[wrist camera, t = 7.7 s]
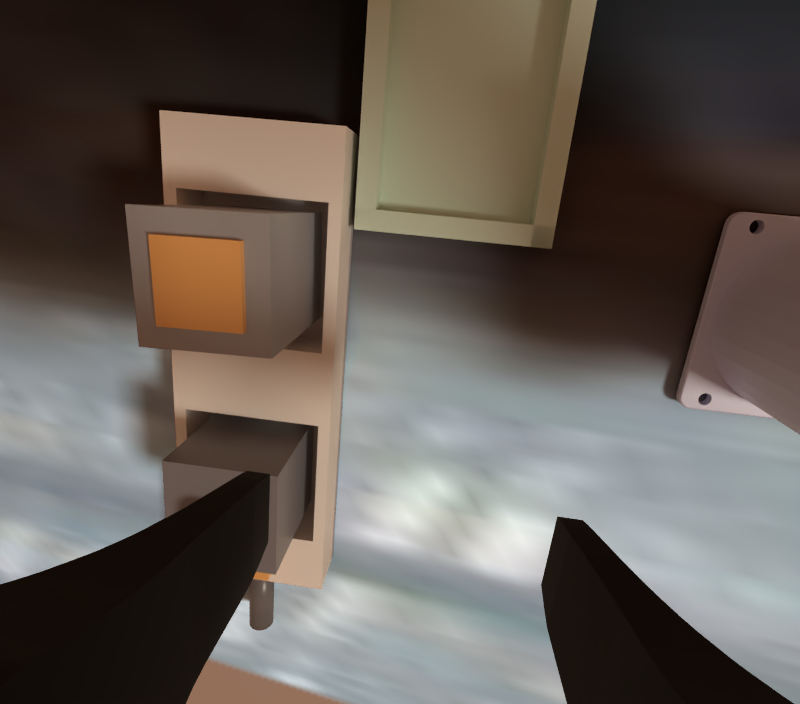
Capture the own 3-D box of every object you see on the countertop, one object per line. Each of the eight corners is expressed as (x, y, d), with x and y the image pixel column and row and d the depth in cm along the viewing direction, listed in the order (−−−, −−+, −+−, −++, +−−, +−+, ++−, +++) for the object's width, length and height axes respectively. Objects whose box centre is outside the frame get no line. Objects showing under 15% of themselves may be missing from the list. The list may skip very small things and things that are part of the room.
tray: (596, -49, 17) (609, -71, 15) (544, 246, 20) (551, 248, 18) (379, -62, 17) (373, -85, 16) (360, 227, 20) (353, 229, 19)
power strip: (358, 135, 19) (343, 123, 16) (329, 615, 26) (315, 663, 23) (193, 121, 19) (151, 107, 17) (208, 596, 27) (180, 641, 24)
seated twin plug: (314, 419, 22) (265, 495, 16) (310, 500, 24) (264, 598, 18) (222, 407, 23) (142, 478, 17) (224, 488, 24) (150, 580, 18)
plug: (321, 212, 20) (266, 214, 14) (320, 317, 21) (269, 361, 15) (217, 205, 20) (119, 204, 14) (222, 309, 21) (134, 348, 15)
